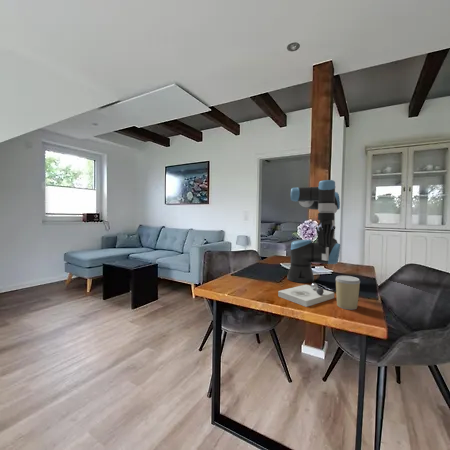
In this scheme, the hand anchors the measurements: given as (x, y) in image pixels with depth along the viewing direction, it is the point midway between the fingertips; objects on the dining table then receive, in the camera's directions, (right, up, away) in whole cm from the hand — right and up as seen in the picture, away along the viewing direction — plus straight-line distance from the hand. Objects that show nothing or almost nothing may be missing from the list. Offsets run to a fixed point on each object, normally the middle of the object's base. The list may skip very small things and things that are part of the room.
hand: (325, 260), depth 126 cm
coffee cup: (+2, -17, -18) cm, 25 cm away
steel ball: (-7, -12, -4) cm, 14 cm away
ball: (-7, -13, -11) cm, 18 cm away
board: (-12, -16, -7) cm, 21 cm away
